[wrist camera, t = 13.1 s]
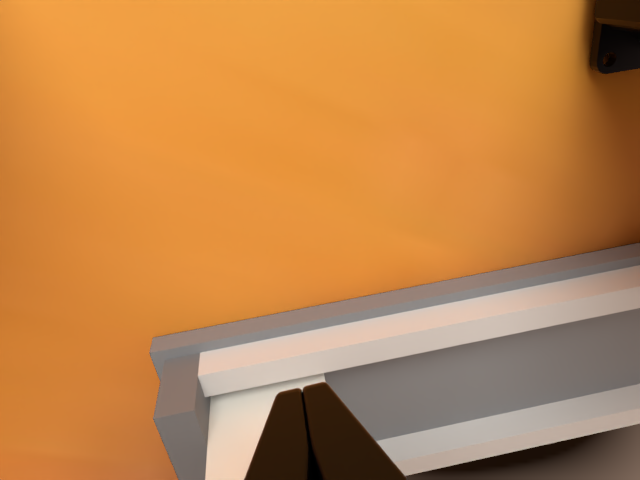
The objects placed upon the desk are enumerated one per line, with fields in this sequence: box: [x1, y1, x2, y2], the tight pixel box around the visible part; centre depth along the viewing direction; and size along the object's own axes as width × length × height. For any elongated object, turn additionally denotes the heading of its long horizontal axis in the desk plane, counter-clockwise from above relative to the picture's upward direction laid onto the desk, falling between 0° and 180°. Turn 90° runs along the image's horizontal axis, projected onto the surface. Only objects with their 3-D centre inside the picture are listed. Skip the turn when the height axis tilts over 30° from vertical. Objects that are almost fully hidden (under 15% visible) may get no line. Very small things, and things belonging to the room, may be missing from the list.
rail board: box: [150, 243, 640, 480], centre depth 23 cm, size 26×10×4 cm, turn 98°
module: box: [205, 373, 326, 480], centre depth 21 cm, size 5×5×5 cm
